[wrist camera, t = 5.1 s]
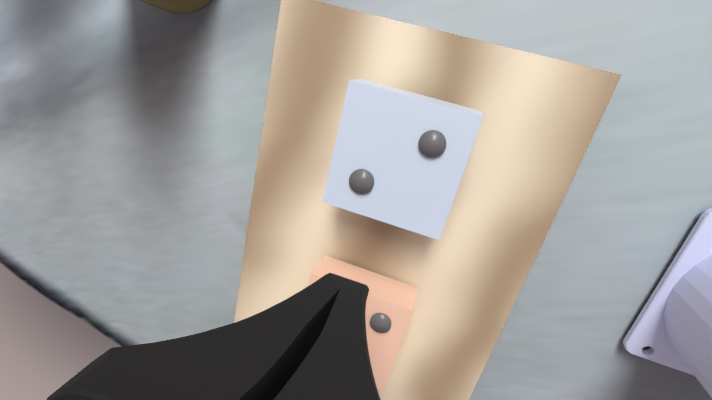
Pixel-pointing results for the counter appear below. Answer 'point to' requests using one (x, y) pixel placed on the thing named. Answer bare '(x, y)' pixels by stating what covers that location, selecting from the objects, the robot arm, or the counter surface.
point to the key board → (472, 200)
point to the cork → (178, 5)
